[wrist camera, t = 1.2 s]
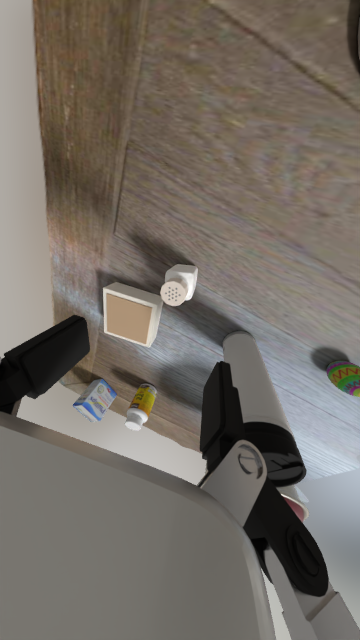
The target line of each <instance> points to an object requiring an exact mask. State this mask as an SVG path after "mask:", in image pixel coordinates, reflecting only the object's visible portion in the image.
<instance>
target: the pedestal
mask: <svg viewBox="0 0 360 640" xmlns="http://www.w3.org/2000/svg"><path fill="white" fill-rule="evenodd" d="M103 302H104V333H107V334H110V335H113V336H116V337H119V338H122V339H125V340H128V341H131V342H134V343H137V344H140V345H143V346H146V347H149V348H150V346H151V344H152V343H153V341H154V339H155V338H156V335H157V330H158V325H159V320H160V315H161V310H162V305H163V299H162V297H161V296H159V295H156V294H153V293H150V292H147V291H144V290H140V289H137V288H134V287H131V286H128V285H125V284H121V283H118V282H115V283H112V284H110V285H108V286H106V287H104V288H103Z"/></svg>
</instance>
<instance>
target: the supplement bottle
mask: <svg viewBox="0 0 360 640" xmlns="http://www.w3.org/2000/svg"><path fill="white" fill-rule="evenodd" d="M156 395H157V390H156V388H155V387H154V386H152V385H150V384H142V385H141V386H140V387H139V389H138V391H137V393H136V395H135V397H134V399H133V401H132V403H131V405H130V407H129V409H128V411H127V416H128V418H127V420H126V422H125V425H126V426H127V427H128V428H129V429H131V430H135V431H137V430H140V428H141V426H142V424H143V423H144V422H146V421H147V419H148V416H149V414H150V411H151V408H152V406H153V403H154V400H155V397H156Z"/></svg>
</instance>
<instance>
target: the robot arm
mask: <svg viewBox="0 0 360 640" xmlns="http://www.w3.org/2000/svg"><path fill="white" fill-rule="evenodd" d="M358 53H359V59H360V19H359V28H358ZM89 351H90V345H89V337H88V329H87V322H86V320H85V318H83V317H80V316H77V315H73V316H71V317H69V318H68V319H66V320H64V321H62V322H60V323H59V324H57V325H55V326H53V327H51V328H50V329H48V330H46V331H44V332H42V333H41V334H39V335H37V336H35V337H33V338H32V339H30V340H28V341H26V342H24V343H22V344H21V345H19V346H17V347H15V348H13V349H12V350H10V351H8V352H6V353H5V354H4V356H5V357H4V358H3V359H1V357H0V640H276V637H275V631H274V625H273V621H272V615H271V610H270V605H269V600H268V595H267V591H266V587H265V582H264V578H263V575H262V571H261V568H262V570H263V572H264V573H265V575H266V576H267V578H268V579H269V581H270V582H271V583H272V584H273V585H274V587H275V590H276V592H277V595H278V597H279V600H280V603H281V605H282V608H283V610H284V611H283V612H282V614H283V617H284V620H285V622H286V625H287V627H288V630H289V633H290V636H291V639H292V640H360V630H359V628H358V626H357V624H356V622H355V621H354V619H353V617H352V615H351V613H350V612H349V610H348V608H347V606H346V604H345V602H344V601H343V599H342V597H341V595H340V593H339V592H335V591H334V589H333V587H332V585H331V584H330V582H329V578H328V573H327V568H326V564H325V562H324V558H323V556H322V553H321V551H320V549H319V547H318V545H317V543H316V542H315V540H314V538H313V537H312V535H311V534H310V532H309V531H308V530H307V528H306V527H305V526H304V524H303V523H302V522H301V520H300V519H299V518H298V516H297V515H296V514H295V512H294V511H293V510H292V508H291V507H290V506H289V504H288V503H287V502H286V500H285V499H284V498H283V496H282V495H281V494H280V492H279V491H278V490H277V488H276V487H275V486H274V484H273V483H272V482H271V480H270V479H269V478H268V476H267V468H266V464H265V461H264V459H263V457H262V455H261V453H260V452H259V450H258V449H257V448H256V447H255V446H254V445H253V444H252V443H250V442H248V441H246V435H245V429H244V423H243V417H242V410H241V404H240V398H239V392H238V389H237V388H236V387H234V386H233V382H232V374H231V367H230V363H226V362H223V361H220V363H219V362H217V363H216V365H215V367H214V369H213V371H212V373H211V375H210V377H209V379H208V381H207V383H206V385H205V387H204V391H203V405H202V420H201V435H200V451H201V452H203V453H202V458H203V459H205V460H207V470H208V472H207V473H206V474H205V476H204V477H203V478H202V479H201V481H200V482H199V483H198V484H197V486H196V485H194V484H192V483H189V482H188V481H185V480H183V479H181V478H178V477H176V476H174V475H171V474H169V473H166V472H164V471H161V470H158V469H156V468H154V467H151V466H149V465H146V464H143V463H140V462H138V461H135V460H132V459H130V458H127V457H124V456H121V455H119V454H116V453H113V452H111V451H108V450H106V449H103V448H100V447H97V446H95V445H92V444H89V443H87V442H84V441H81V440H78V439H76V438H73V437H70V436H67V435H65V434H62V433H59V432H57V431H54V430H51V429H48V428H45V427H42V426H40V425H37V424H34V423H32V422H29V421H26V420H23V419H21V418H18V417H16V415H17V412H18V409H19V406H20V403H21V399H22V397H24V396H25V395H27V396H28V397H31V398H33V399H36V398H37V397H38V396H39V395H41V394H44V393H45V392H46V391H47V390H48V389H49V388H51V387H52V386H53V385H54V384H55V383H56V382H57V381H58V380H59V379H60V378H62V377H63V376H64V375H65V374H66V373H67V372H68V371H69V370H70V369H71V368H72V367H73V366H75V365H76V364H77V363H78V362H79V361H80V360H81V359H82V358H83V357H84V356H85V355H87V354H88V352H89ZM260 566H261V567H260Z"/></svg>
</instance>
